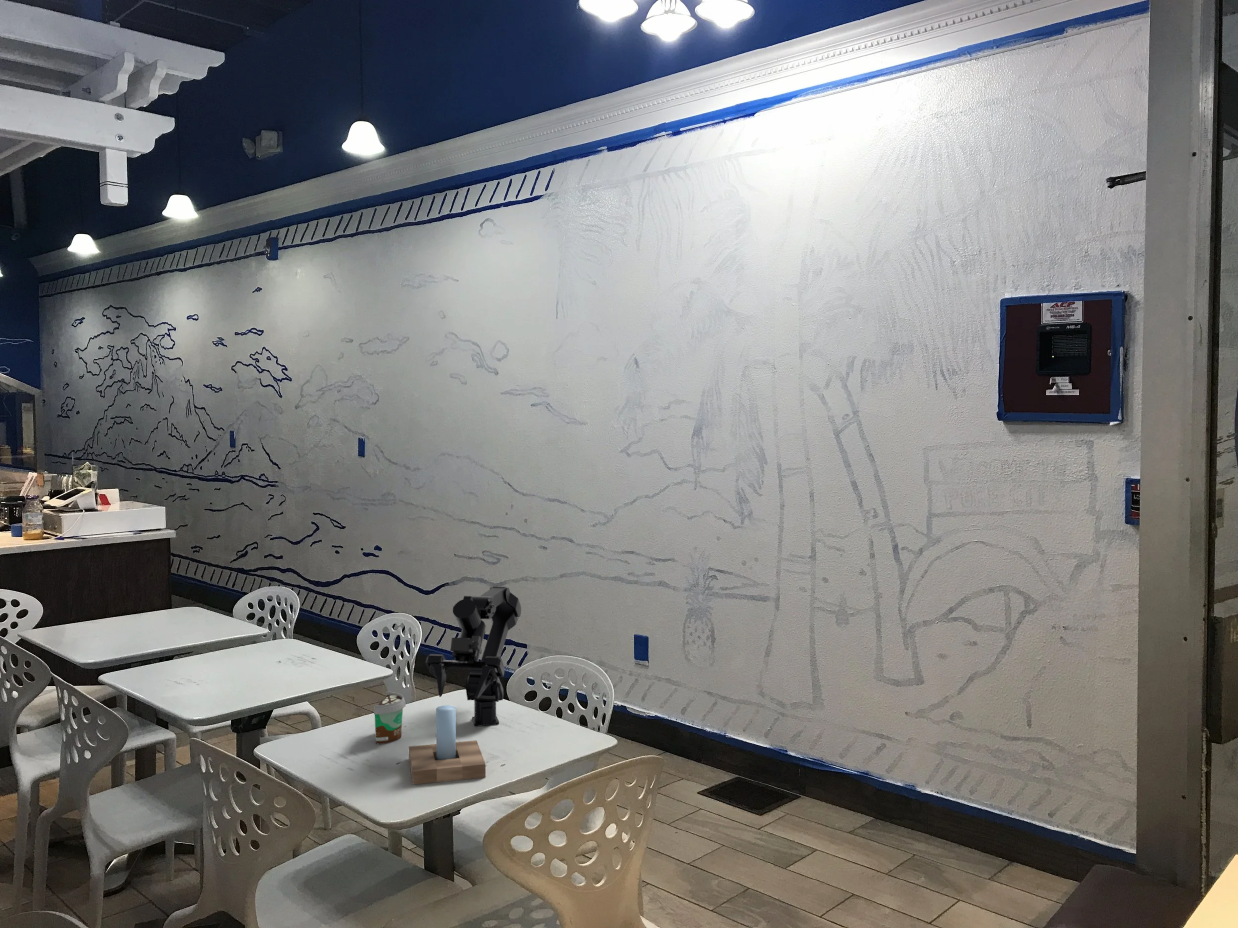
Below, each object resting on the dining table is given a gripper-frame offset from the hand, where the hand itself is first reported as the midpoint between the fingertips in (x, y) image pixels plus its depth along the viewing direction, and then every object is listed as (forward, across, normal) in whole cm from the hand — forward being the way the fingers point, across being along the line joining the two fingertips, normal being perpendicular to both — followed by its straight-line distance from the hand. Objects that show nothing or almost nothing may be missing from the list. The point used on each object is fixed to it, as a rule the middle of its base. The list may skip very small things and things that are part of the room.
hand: (458, 696), depth 231 cm
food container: (+4, -20, +15) cm, 25 cm away
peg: (+17, 0, +3) cm, 17 cm away
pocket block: (+17, 0, +3) cm, 17 cm away
